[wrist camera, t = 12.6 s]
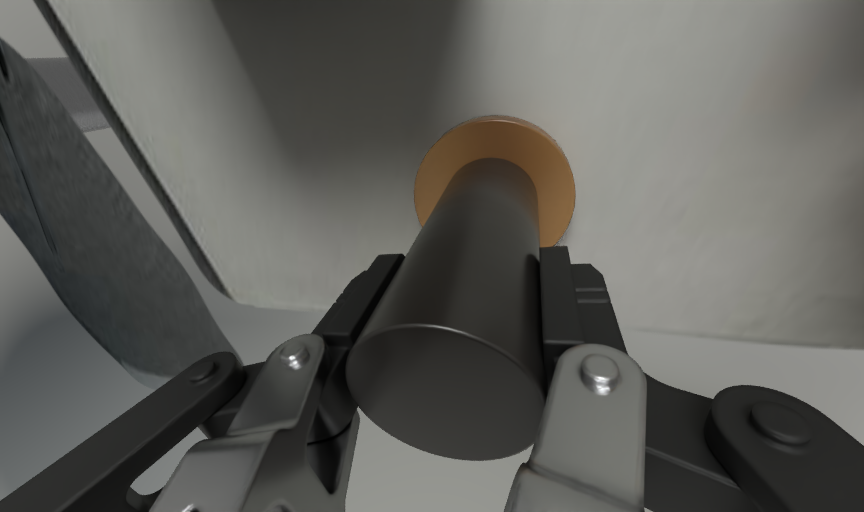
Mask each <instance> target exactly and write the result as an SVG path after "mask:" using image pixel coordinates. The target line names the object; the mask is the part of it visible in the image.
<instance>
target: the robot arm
mask: <svg viewBox="0 0 864 512" xmlns="http://www.w3.org/2000/svg"><path fill="white" fill-rule="evenodd" d="M404 258H405V256H404V255H403V254H384V255H378V256H377V257H376V259H375V260H374V262H373V263H372V264H371V266H370V267H369V269H368V270H367V271H363V272H362V273H361V274H359V275H358V276H357V277H355V278H354V279H352V280H351V282H350V283H349V284H348V285H347V287H346V288H345V289H344V291H343V293H341V295H340V296H339V297H338V299H337V300H336V303H334V304H333V305H332V307H331V308H330V309H329V311H328V312H327V313H326V314H325V316H324V317H323V318H322V320H321V321H320V322H319V324H318V325H317V326H316V328H315V329H314V330H313V332H312V333H311V334H303V335H299V336H296V337H293V338H291V339H289V340H287V341H285V342H284V343H283V344H281V345H279V346H278V347H277V348H276V349H275V350H274V351H273V352H272V353H271V354H270V355H269V357H268V358H267V360H266V361H265V362H261V363H256V364H252V365H247V366H243V367H242V366H241V364H240V363H239V361H238V360H237V358H236V357H235V355H234V354H233V353H230V352H218V353H215V354H212V355H209V356H207V357H204V358H202V359H201V360H199V361H197V362H195V363H194V364H192V365H191V366H190V367H188V368H187V369H185V370H184V371H183V372H181V373H180V374H178V375H177V376H176V377H174V378H173V379H171V380H170V381H168V382H167V383H166V384H164V385H163V386H161V387H160V388H159V389H157V390H156V391H155V392H153V393H152V394H150V395H149V396H147V397H146V398H145V399H143V400H142V401H140V402H139V403H138V404H136V405H135V406H133V407H132V408H130V409H129V410H128V411H126V412H125V413H123V414H122V415H121V416H119V417H118V418H116V419H115V420H114V421H112V422H111V423H109V424H108V425H107V426H105V427H104V428H102V429H101V430H100V431H98V432H97V433H95V434H94V435H93V436H91V437H90V438H88V439H87V440H85V441H84V442H83V443H81V444H80V445H78V446H77V447H76V448H74V449H73V450H71V451H70V452H69V453H67V454H66V455H64V456H63V457H62V458H60V459H59V460H57V461H56V462H55V463H53V464H52V465H50V466H49V467H47V468H46V469H45V470H43V471H42V472H40V473H39V474H38V475H36V476H35V477H33V478H32V479H31V480H29V481H28V482H26V483H25V484H24V485H22V486H21V487H19V488H18V489H17V490H15V491H14V492H13V493H11V494H9V495H8V496H7V497H5V498H4V499H2V500H1V501H0V512H345V498H346V493H347V487H348V482H349V477H350V471H351V466H352V461H353V455H354V450H355V445H356V440H357V434H358V429H359V423H360V417H359V413H358V411H357V408H358V405H357V404H356V402H355V401H354V399H353V397H352V395H351V393H350V391H349V388H348V386H347V381H346V373H345V368H346V361H347V357H348V355H349V352H350V350H351V349H352V347H353V345H354V343H355V342H356V340H357V338H358V337H359V335H360V333H361V332H362V330H363V328H364V326H365V325H366V323H367V321H368V320H369V318H370V316H371V315H372V313H373V311H374V309H375V308H376V306H377V304H378V303H379V301H380V299H381V298H382V296H383V294H384V292H385V291H386V289H387V287H388V286H389V284H390V282H391V281H392V279H393V277H394V275H395V274H396V272H397V270H398V269H399V267H400V265H401V263H402V262H403V260H404ZM539 260H540V283H541V307H542V330H543V353H544V369H545V372H546V376H547V383H548V397H547V400H546V404H545V407H544V411H543V414H542V418H541V421H540V424H539V428H538V431H537V435H536V438H535V442H534V446H533V449H532V452H531V455H530V458H529V460H528V461H527V463H522V464H521V466H520V467H519V469H518V471H517V473H516V475H515V478H514V481H513V484H512V487H511V490H510V493H509V496H508V500H507V503H506V506H505V509H504V512H645V511H644V507H645V508H647V509H649V510H651V511H653V512H864V446H863V445H862V444H861V443H859V442H858V441H857V440H856V439H854V438H853V437H852V436H851V435H849V434H848V433H847V432H846V431H845V430H843V429H842V428H841V427H840V426H838V425H837V424H836V423H835V422H833V421H832V420H831V419H830V418H828V417H827V416H826V415H824V414H823V413H821V412H820V411H819V410H817V409H815V408H814V407H812V406H811V405H809V404H807V403H805V402H803V401H801V400H799V399H797V398H795V397H793V396H790V395H788V394H785V393H783V392H779V391H777V390H773V389H769V388H765V387H760V386H751V385H739V386H732V387H728V388H725V389H723V390H722V391H720V392H719V393H718V394H717V395H716V396H715V397H714V399H711V398H707V397H704V396H701V395H697V394H693V393H690V392H687V391H683V390H680V389H677V388H674V387H671V386H668V385H666V384H664V383H661V382H659V381H657V380H655V379H654V378H652V377H650V376H649V375H647V374H646V373H644V372H643V370H642V369H641V367H640V366H639V365H638V363H637V362H636V361H635V360H633V359H632V358H631V357H630V356H629V355H628V353H627V351H626V348H625V345H624V341H623V338H622V336H621V332H620V329H619V325H618V322H617V319H616V316H615V313H614V310H613V306H612V303H611V300H610V297H609V294H608V291H607V287H606V284H605V281H604V278H603V275H602V274H601V273H600V272H599V271H598V270H596V269H595V268H594V267H593V266H592V265H591V264H571V263H570V258H569V252H568V247H567V246H556V247H539ZM196 427H198V428H199V429H200V430H201V431H202V432H203V433H204V434H205V435H206V437H207V438H208V439H204V440H202V441H199V442H198V443H196V444H195V445H193V446H192V447H191V448H190V449H189V450H188V451H187V452H186V454H185V455H184V457H183V458H182V459H181V461H180V462H179V464H178V466H177V467H176V469H175V471H174V472H173V474H172V475H171V477H170V478H169V480H168V482H167V483H166V485H165V486H164V487H163V488H161V489H160V490H159V491H157V492H155V493H153V494H150V495H140V494H138V493H137V492H136V491H134V490H133V489H132V488H131V487H130V485H131V484H132V483H133V481H134V480H135V479H136V478H137V477H138V476H140V475H141V474H142V473H143V472H144V471H145V470H146V469H148V468H149V467H150V466H151V465H153V464H154V463H155V462H156V461H157V460H158V459H160V458H161V457H162V456H163V455H164V454H166V453H167V452H168V451H169V450H170V449H172V448H173V447H174V446H175V445H176V444H177V443H179V442H180V441H181V440H182V439H183V438H184V437H186V436H187V435H188V434H189V433H190V432H192V431H193V430H194V429H195V428H196Z"/></svg>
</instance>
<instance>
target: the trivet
mask: <svg viewBox="0 0 864 512" xmlns="http://www.w3.org/2000/svg"><path fill="white" fill-rule="evenodd" d="M482 158H500V159H505V160H507V161H510V162H512V163H514V164H516V165H518V166H519V167H521V168H522V169H523V170H524V171H525V172H526V173H527V174H528V175H529V176H530V178H531V180H532V181H533V183H534V185H535V188H536V192H537V198H538V215H539V234H540V247H553V246H554V245H555V244H556V243H557V242H558V240H559V239H560V238H561V237H562V235H563V234H564V232H565V230H566V229H567V227H568V225H569V223H570V220H571V218H572V214H573V210H574V206H575V183H574V179H573V174H572V171H571V168H570V166H569V163H568V160H567V158H566V156H565V154H564V153H563V151H562V149H561V148H560V147H559V145H558V144H557V143H556V141H555V140H554V139H553V138H552V137H551V136H549V135H548V134H547V133H546V132H545V131H543V130H542V129H540V128H539V127H538V126H536V125H534V124H532V123H530V122H528V121H525V120H522V119H519V118H515V117H509V116H498V115H492V116H483V117H478V118H474V119H471V120H468V121H466V122H463V123H461V124H459V125H457V126H456V127H454V128H452V129H451V130H449V131H448V132H447V133H445V134H444V135H443V136H442V137H441V138H440V139H439V140H438V141H437V142H436V143H435V144H434V145H433V146H432V147H431V149H430V150H429V151H428V153H427V154H426V155H425V157H424V159H423V161H422V163H421V165H420V167H419V170H418V172H417V176H416V180H415V187H414V202H415V208H416V212H417V215H418V219H419V221H420V223H421V226H422V228H423V226H424V224H425V223H426V221H427V219H428V218H429V216H430V214H431V212H432V211H433V209H434V207H435V206H436V204H437V202H438V201H439V199H440V197H441V195H442V194H443V192H444V190H445V189H446V187H447V185H448V183H449V182H450V180H451V179H452V177H453V176H454V174H455V173H456V172H457V171H458V170H459V169H460V168H461V167H463V166H464V165H466V164H468V163H470V162H472V161H475V160H477V159H482Z"/></svg>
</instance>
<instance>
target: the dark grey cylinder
mask: <svg viewBox="0 0 864 512" xmlns="http://www.w3.org/2000/svg"><path fill="white" fill-rule="evenodd" d="M539 247H540V234H539V215H538V198H537V192H536V188H535V185H534V183H533V181H532V180H531V178H530V176H529V175H528V174H527V173H526V172H525V171H524V170H523V169H522V168H521V167H519V166H518V165H516V164H514V163H512V162H510V161H507V160H505V159H500V158H482V159H477V160H475V161H472V162H470V163H468V164H466V165H464V166H463V167H461V168H460V169H459V170H458V171H457V172H456V173H455V174H454V176H453V177H452V179H451V180H450V182H449V183H448V185H447V187H446V189H445V190H444V192H443V194H442V195H441V197H440V199H439V201H438V202H437V204H436V206H435V207H434V209H433V211H432V212H431V214H430V216H429V218H428V219H427V221H426V223H425V224H424V226H423V228H422V229H421V231H420V233H419V235H418V236H417V238H416V240H415V241H414V243H413V245H412V246H411V248H410V250H409V252H408V253H407V255H406V257H405V258H404V260H403V262H402V263H401V265H400V267H399V269H398V270H397V272H396V274H395V275H394V277H393V279H392V281H391V282H390V284H389V286H388V287H387V289H386V291H385V292H384V294H383V296H382V298H381V299H380V301H379V303H378V304H377V306H376V308H375V309H374V311H373V313H372V315H371V316H370V318H369V320H368V321H367V323H366V325H365V326H364V328H363V330H362V332H361V333H360V335H359V337H358V338H357V340H356V342H355V343H354V345H353V347H352V349H351V350H350V352H349V355H348V357H347V361H346V368H345V373H346V381H347V386H348V388H349V391H350V393H351V395H352V397H353V399H354V401H355V402H356V404H357V405H358V406H359V408H360V409H361V410H362V411H363V412H364V414H365V415H366V416H367V417H368V418H369V419H370V420H372V421H373V422H374V423H375V424H376V425H377V426H379V427H380V428H381V429H382V430H384V431H385V432H387V433H388V434H390V435H391V436H393V437H395V438H397V439H398V440H400V441H402V442H404V443H406V444H408V445H410V446H412V447H415V448H417V449H420V450H422V451H426V452H428V453H431V454H435V455H439V456H443V457H447V458H453V459H460V460H471V461H484V460H495V459H501V458H505V457H509V456H512V455H515V454H518V453H520V452H522V451H524V450H526V449H527V448H528V447H530V446H531V445H533V444H534V442H535V438H536V435H537V431H538V428H539V424H540V421H541V418H542V414H543V411H544V407H545V404H546V400H547V397H548V383H547V376H546V372H545V369H544V353H543V330H542V307H541V283H540V260H539Z"/></svg>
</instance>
